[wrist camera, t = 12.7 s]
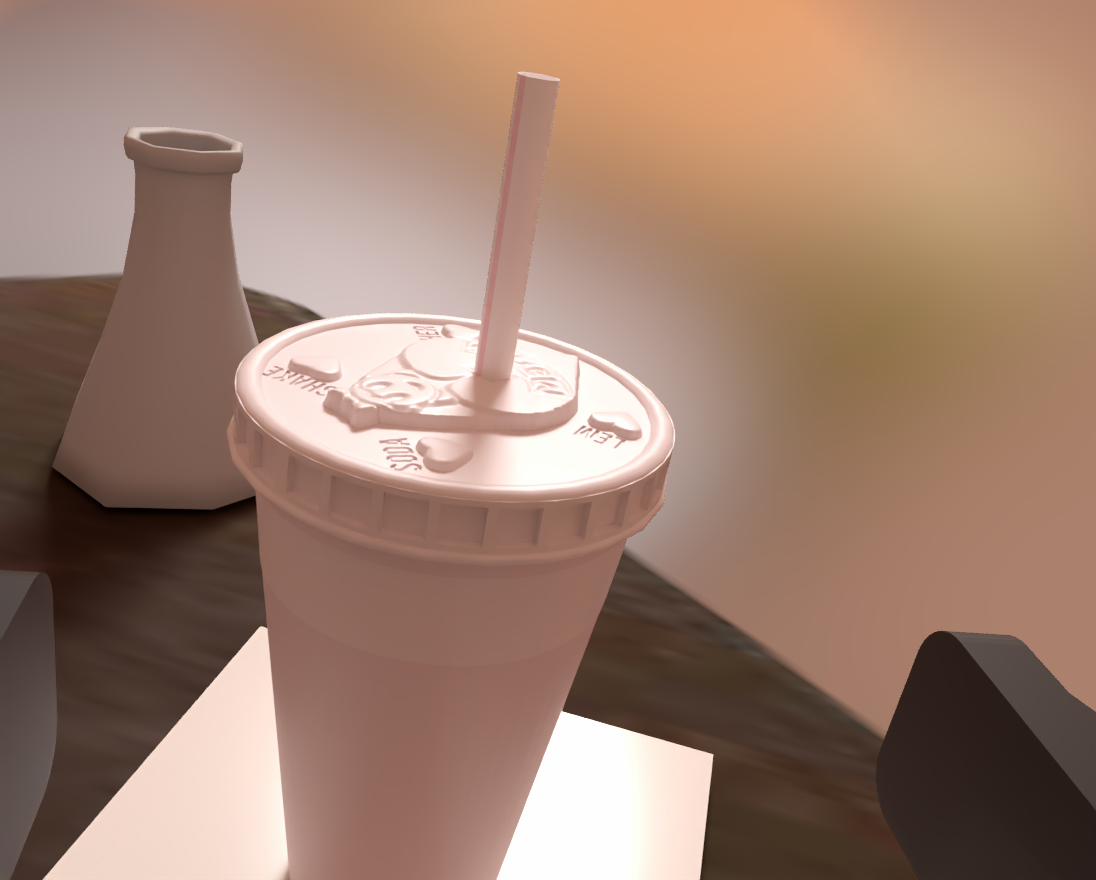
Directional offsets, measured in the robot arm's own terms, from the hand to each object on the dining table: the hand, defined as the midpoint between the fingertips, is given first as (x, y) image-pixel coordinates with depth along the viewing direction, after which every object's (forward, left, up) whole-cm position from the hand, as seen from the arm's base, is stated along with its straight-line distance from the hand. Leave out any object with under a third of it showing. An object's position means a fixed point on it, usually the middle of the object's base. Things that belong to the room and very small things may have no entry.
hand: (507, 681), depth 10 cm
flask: (-14, +19, -10) cm, 26 cm away
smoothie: (-2, +6, -10) cm, 11 cm away
